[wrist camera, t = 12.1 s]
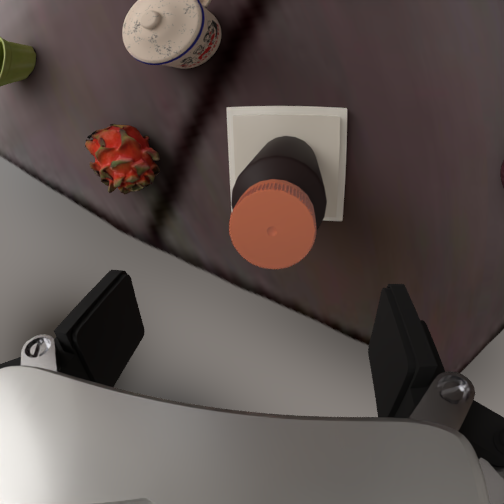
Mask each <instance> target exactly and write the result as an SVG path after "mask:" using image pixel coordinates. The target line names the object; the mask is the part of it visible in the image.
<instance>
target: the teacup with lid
mask: <svg viewBox="0 0 504 504" xmlns="http://www.w3.org/2000/svg"><path fill="white" fill-rule="evenodd" d="M210 2H211V0H200V1H199V0H138V1H137V2H136V3H135V4H134V5H133V6H132V8H131V9H130V10H129V12H128V14H127V16H126V18H125V21H124V24H123V41H124V44H125V47H126V49H127V50H128V52H129V53H130V54H131V55H132V56H133V57H134V58H135V59H137V60H138V61H140V62H142V63H145V64H150V65H166V66H171V67H175V68H181V69H187V68H193V67H196V66H199V65H201V64H203V63H204V62H206V61H207V60H209V59H210V58H211V57H212V56H213V55H214V53H215V52H216V50H217V49H218V47H219V44H220V41H221V27H220V24H219V22H218V20H217V19H216V17H215V16H214V15H213V14H212V13H210V12H209V11H208V10H207V9H206V7H207V6H208V5H209V3H210Z"/></svg>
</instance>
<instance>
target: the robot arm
mask: <svg viewBox="0 0 504 504" xmlns="http://www.w3.org/2000/svg"><path fill="white" fill-rule="evenodd" d="M54 332H55V334H56V338H55V339H53V338H52V337H51V336H49V335H38V336H35V337H33V338H31V339H30V340H28V341H27V342H26V343H25V344H24V346H23V348H22V352H21V357H19V358H17V359H14V360H11V361H8V362H5V363H2V364H0V504H504V418H503V417H502V416H500V415H498V414H497V413H495V412H493V411H491V410H490V409H488V408H486V407H485V406H483V405H481V404H479V403H478V402H476V401H474V396H475V390H474V386H473V384H472V383H471V381H470V380H469V379H468V378H467V377H465V376H464V375H462V374H460V373H457V372H445V370H444V367H443V365H442V362H441V359H440V357H439V354H438V352H437V349H436V347H435V344H434V342H433V339H432V337H431V334H430V332H429V330H428V327H427V325H426V323H425V322H424V321H423V320H421V321H420V319H419V317H418V314H417V312H416V310H415V307H414V305H413V303H412V301H411V298H410V296H409V294H408V292H407V289H406V287H405V285H404V284H388V286H387V288H383V289H382V292H381V296H380V301H379V305H378V310H377V314H376V319H375V323H374V327H373V331H372V335H371V339H370V343H369V349H368V350H369V351H368V353H369V360H370V366H371V372H372V378H373V384H374V390H375V397H376V404H377V412H378V417H319V416H294V415H279V414H266V413H256V412H246V411H238V410H229V409H222V408H214V407H207V406H201V405H195V404H189V403H183V402H177V401H172V400H167V399H162V398H157V397H152V396H147V395H143V394H139V393H134V392H130V391H126V390H122V389H118V388H114V385H115V383H116V381H117V380H118V378H119V376H120V374H121V373H122V371H123V369H124V368H125V366H126V365H127V362H128V361H129V359H130V358H131V356H132V355H133V353H134V351H135V349H136V348H137V346H138V345H139V343H140V341H141V340H142V338H143V336H144V326H143V323H142V319H141V316H140V312H139V308H138V304H137V301H136V297H135V293H134V289H133V285H132V281H131V277H130V276H129V275H127V273H126V272H125V271H119V270H111V271H109V272H108V273H107V274H106V275H105V277H103V279H102V280H101V281H100V282H99V283H98V284H97V285H96V286H95V287H94V288H93V289H92V290H91V291H90V292H89V293H88V294H87V295H86V296H85V297H84V298H83V300H82V301H81V302H80V303H79V304H78V305H77V306H76V307H75V308H74V309H73V310H72V311H71V312H70V314H69V315H68V316H67V317H66V318H65V319H64V320H63V321H62V322H61V324H60V325H59V326H58V327H57V328H56V329H55V331H54Z"/></svg>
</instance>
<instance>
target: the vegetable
mask: <svg viewBox="0 0 504 504" xmlns="http://www.w3.org/2000/svg"><path fill="white" fill-rule="evenodd" d="M501 181H502V185H503V187H504V160H503V163H502V166H501Z"/></svg>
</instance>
